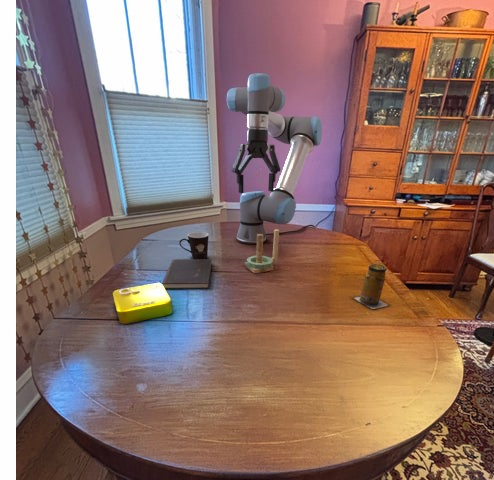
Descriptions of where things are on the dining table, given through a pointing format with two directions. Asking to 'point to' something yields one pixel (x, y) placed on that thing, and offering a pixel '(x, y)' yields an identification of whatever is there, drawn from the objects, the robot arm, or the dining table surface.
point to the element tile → (142, 303)
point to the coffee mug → (197, 244)
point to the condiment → (373, 287)
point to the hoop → (266, 259)
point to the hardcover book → (188, 274)
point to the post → (259, 256)
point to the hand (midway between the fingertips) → (256, 192)
